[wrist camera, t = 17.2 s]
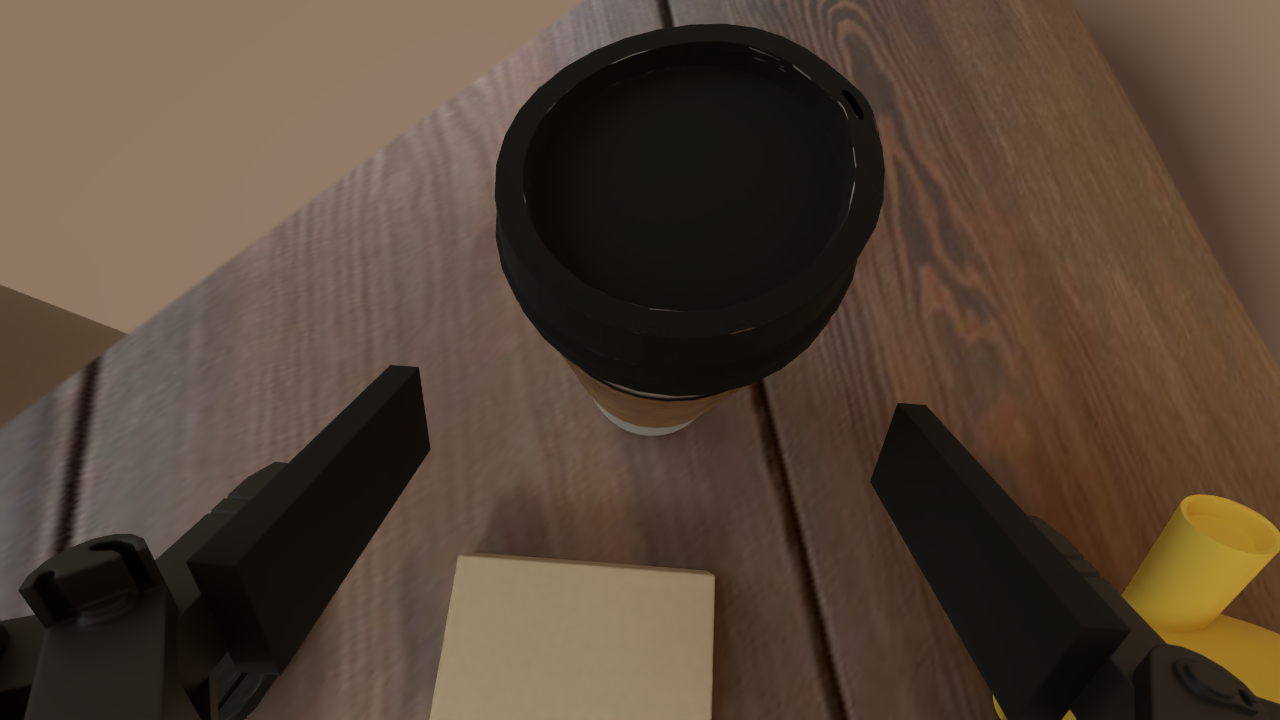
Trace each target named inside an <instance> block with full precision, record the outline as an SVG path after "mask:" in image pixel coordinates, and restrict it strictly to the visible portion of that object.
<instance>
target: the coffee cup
mask: <svg viewBox="0 0 1280 720" xmlns="http://www.w3.org/2000/svg"><path fill="white" fill-rule="evenodd" d="M884 183H885V168H884V159H883V151H882V146H881V141H880V137H879V132H878V129H877V125H876V121H875V118H874V115H873V112H872V109H871V107H870V105H869V103H868V101H867V100H866V98H865V97H864V96H863V95H862V94H861V92H860V91H859V90H858V89H857V88H855V87H854V86H853V85H852V84H851V83H850V82H849V81H848V80H847V79H845V78H844V77H843V76H842V75H841V74H840V73H838V72H837V71H836V70H835V69H834V68H832V67H831V66H830V65H829V64H827V63H826V62H825V61H823V60H822V59H820V58H819V57H817V56H816V55H815V54H813V53H812V52H810V51H809V50H807V49H806V48H804V47H802V46H800V45H798V44H796V43H794V42H792V41H790V40H788V39H786V38H784V37H782V36H779V35H776V34H773V33H770V32H767V31H764V30H761V29H757V28H752V27H745V26H737V25H729V24H699V25H686V26H679V27H672V28H666V29H659V30H655V31H651V32H647V33H643V34H640V35H636V36H632V37H629V38H625V39H622V40H620V41H617V42H615V43H612V44H610V45H607V46H605V47H602V48H600V49H597V50H595V51H593V52H591V53H589V54H588V55H586V56H584V57H582V58H580V59H579V60H577V61H575V62H573V63H572V64H570V65H568V66H566V67H565V68H563V69H562V70H561V71H560V72H558V73H557V74H556V75H554V76H553V77H552V78H551V79H549V80H548V81H547V82H545V83H544V84H543V85H542V86H540V87H539V88H538V90H537V91H536V92H535V93H534V94H533V95H532V96H531V97H530V99H529V100H528V101H527V102H526V103H525V104H524V105H523V106H522V108H521V109H520V110H519V112H518V113H517V115H516V117H515V119H514V121H513V122H512V124H511V126H510V128H509V129H508V131H507V133H506V135H505V137H504V140H503V144H502V147H501V150H500V154H499V157H498V161H497V164H496V182H495V202H496V209H497V217H496V241H497V246H498V251H499V256H500V261H501V266H502V270H503V272H504V274H505V276H506V278H507V280H508V283H509V285H510V287H511V289H512V291H513V293H514V295H515V297H516V299H517V301H518V302H519V303H520V306H521V308H522V310H523V312H524V313H525V315H526V316H527V317H528V318H529V320H530V321H531V322H532V324H533V325H534V326H535V328H536V329H537V330H538V331H539V333H540V334H541V335H542V337H543V338H544V339H545V340H546V341H547V342H548V343H550V344H551V345H552V346H553V347H554V348H555V349H556V350H558V351H559V352H560V353H561V355H562V356H563V358H564V359H565V360H566V362H567V363H568V364H569V366H570V367H571V369H572V370H573V371H574V373H575V374H576V376H577V377H578V378H579V380H580V381H581V383H582V384H583V385H584V387H585V388H586V389H587V391H588V392H589V393H590V395H591V396H592V398H593V399H594V401H595V403H596V404H597V406H598V407H599V408H600V410H601V411H602V412H603V414H604V415H605V416H606V417H607V418H608V419H609V420H611V421H612V422H613V423H614V424H615V425H617V426H619V427H620V428H622V429H624V430H626V431H629V432H632V433H635V434H638V435H646V436H658V435H665V434H669V433H673V432H676V431H678V430H680V429H682V428H684V427H686V426H687V425H689V424H690V423H691V422H692V421H694V420H695V419H696V418H697V417H699V416H701V415H703V414H704V413H706V412H707V411H709V410H710V409H712V408H713V407H715V406H716V405H718V404H719V403H721V402H722V401H724V400H725V399H727V398H728V397H730V396H731V395H733V394H734V393H736V392H737V391H739V390H740V389H742V388H743V387H745V386H748V385H751V384H753V383H755V382H757V381H759V380H761V379H763V378H765V377H767V376H769V375H771V374H773V373H775V372H777V371H779V370H781V369H782V368H783V367H785V366H786V365H787V364H788V363H790V362H791V361H792V360H793V359H795V358H796V357H797V356H798V355H800V354H801V353H802V352H803V351H805V350H806V349H807V348H808V347H809V346H810V345H811V343H812V342H813V341H814V340H815V338H816V337H817V336H818V335H819V333H820V332H821V331H822V330H823V329H824V327H825V326H826V325H827V324H828V322H829V320H830V318H831V316H832V315H833V314H834V313H835V312H836V310H837V309H838V307H839V305H840V303H841V301H842V299H843V297H844V295H845V293H846V291H847V290H848V288H849V286H850V284H851V282H852V280H853V276H854V272H855V267H856V263H857V259H858V257H859V255H860V253H861V252H862V250H863V248H864V246H865V245H866V243H867V241H868V239H869V238H870V236H871V234H872V232H873V231H874V229H875V227H876V224H877V221H878V217H879V214H880V210H881V206H882V203H883V199H884Z"/></svg>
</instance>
